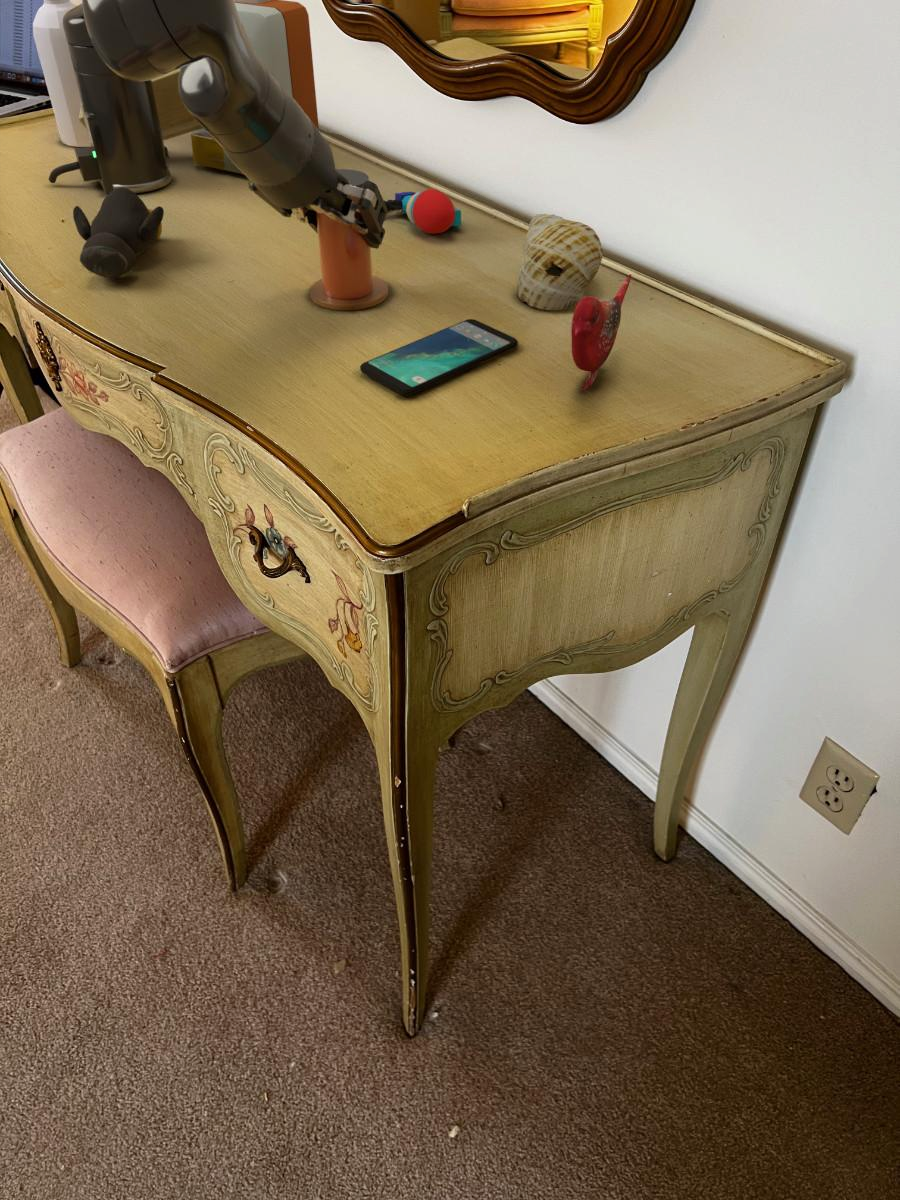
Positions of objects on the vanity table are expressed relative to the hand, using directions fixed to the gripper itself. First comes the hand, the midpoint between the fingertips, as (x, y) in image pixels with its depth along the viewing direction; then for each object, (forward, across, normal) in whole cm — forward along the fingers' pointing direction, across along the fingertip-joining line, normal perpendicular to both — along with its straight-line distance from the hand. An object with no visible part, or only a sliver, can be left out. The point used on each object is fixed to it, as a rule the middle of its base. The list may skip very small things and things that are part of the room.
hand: (352, 234), depth 98 cm
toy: (+3, +31, +1) cm, 31 cm away
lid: (-5, 0, -3) cm, 6 cm away
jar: (+2, 0, +5) cm, 5 cm away
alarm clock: (+31, +40, -22) cm, 55 cm away
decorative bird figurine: (0, -30, +9) cm, 31 cm away
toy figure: (+18, +2, -10) cm, 21 cm away
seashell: (+11, -20, -2) cm, 23 cm away
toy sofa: (+16, +45, -16) cm, 50 cm away
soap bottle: (+25, +65, -16) cm, 71 cm away
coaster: (+3, 0, +5) cm, 6 cm away
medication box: (+22, +36, -14) cm, 44 cm away
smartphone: (-4, -16, +12) cm, 20 cm away
